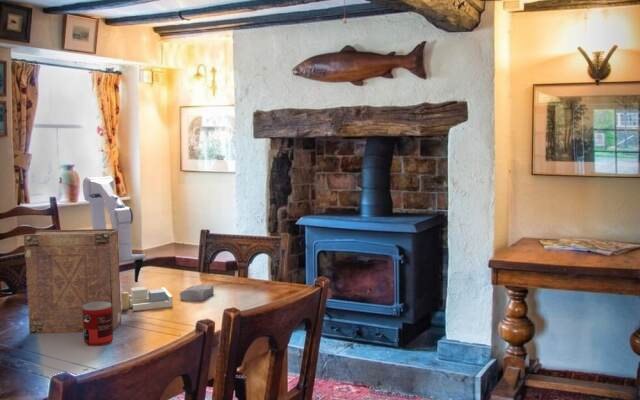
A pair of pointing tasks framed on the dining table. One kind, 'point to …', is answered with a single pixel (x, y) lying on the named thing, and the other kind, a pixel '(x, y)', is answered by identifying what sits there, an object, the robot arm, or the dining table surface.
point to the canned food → (97, 323)
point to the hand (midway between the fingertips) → (124, 282)
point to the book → (70, 277)
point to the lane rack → (144, 302)
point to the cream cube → (139, 293)
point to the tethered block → (153, 297)
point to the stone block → (197, 293)
